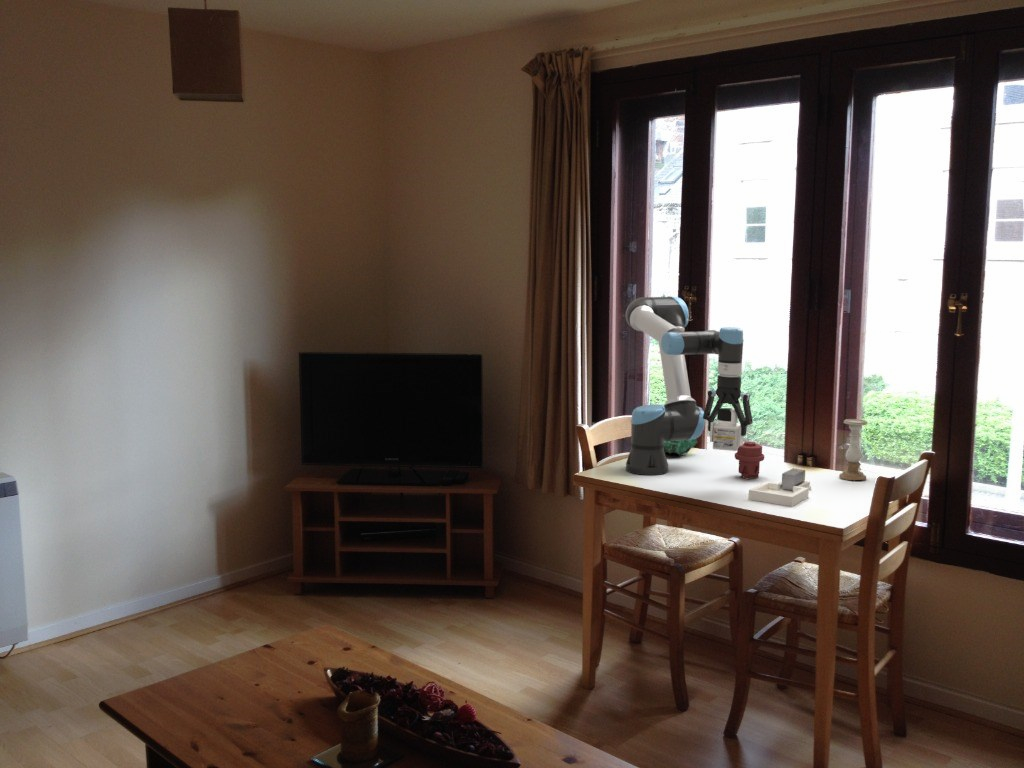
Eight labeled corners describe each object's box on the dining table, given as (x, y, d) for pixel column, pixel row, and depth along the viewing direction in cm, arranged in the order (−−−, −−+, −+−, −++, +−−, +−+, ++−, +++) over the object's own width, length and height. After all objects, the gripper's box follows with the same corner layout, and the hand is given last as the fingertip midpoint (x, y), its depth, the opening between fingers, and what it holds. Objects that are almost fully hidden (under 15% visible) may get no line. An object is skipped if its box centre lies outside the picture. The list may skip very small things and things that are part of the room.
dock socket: (748, 499, 280) (748, 489, 280) (778, 484, 299) (779, 475, 299) (791, 506, 271) (792, 496, 271) (820, 490, 291) (820, 481, 291)
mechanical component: (731, 473, 315) (760, 474, 314) (736, 480, 305) (765, 481, 304) (733, 439, 313) (762, 440, 312) (737, 445, 303) (767, 445, 302)
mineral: (654, 449, 357) (655, 424, 356) (694, 449, 356) (695, 425, 354) (657, 458, 339) (658, 433, 338) (699, 459, 337) (700, 434, 336)
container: (712, 449, 289) (714, 410, 287) (715, 444, 296) (717, 406, 294) (736, 451, 286) (738, 411, 284) (739, 446, 293) (741, 407, 291)
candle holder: (871, 480, 304) (874, 422, 302) (847, 481, 303) (850, 423, 300) (857, 475, 313) (860, 418, 310) (834, 475, 311) (837, 418, 309)
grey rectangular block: (781, 488, 288) (782, 473, 287) (792, 482, 296) (793, 468, 295) (793, 490, 286) (794, 475, 285) (804, 484, 293) (805, 469, 293)
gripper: (693, 373, 291) (691, 440, 294) (756, 379, 278) (753, 450, 281) (703, 371, 297) (701, 436, 300) (766, 377, 283) (762, 446, 287)
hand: (726, 443), depth 291 cm, fingers closed on container, 9 cm apart
